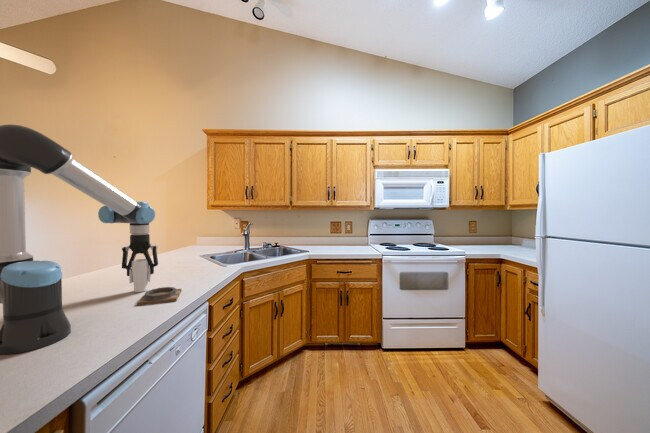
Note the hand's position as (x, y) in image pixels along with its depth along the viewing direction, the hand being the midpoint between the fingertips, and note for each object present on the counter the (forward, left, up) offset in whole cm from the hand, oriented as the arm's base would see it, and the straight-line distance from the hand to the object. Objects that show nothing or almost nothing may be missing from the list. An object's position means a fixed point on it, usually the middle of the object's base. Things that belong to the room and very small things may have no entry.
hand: (140, 281), depth 121 cm
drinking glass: (0, 0, -5) cm, 5 cm away
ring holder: (-14, -11, -4) cm, 18 cm away
